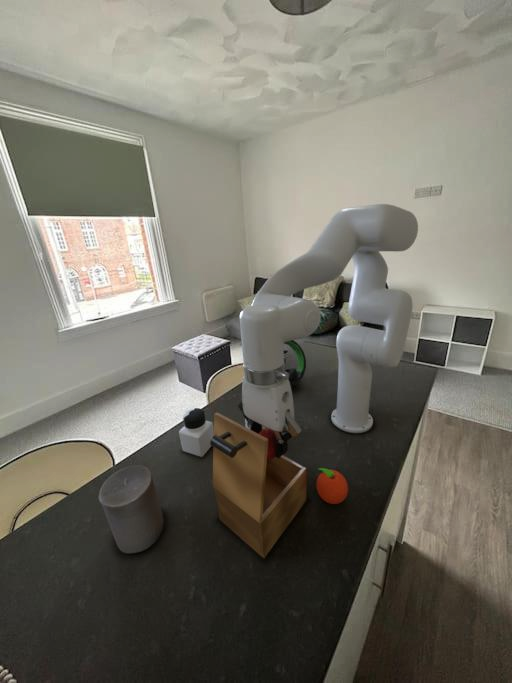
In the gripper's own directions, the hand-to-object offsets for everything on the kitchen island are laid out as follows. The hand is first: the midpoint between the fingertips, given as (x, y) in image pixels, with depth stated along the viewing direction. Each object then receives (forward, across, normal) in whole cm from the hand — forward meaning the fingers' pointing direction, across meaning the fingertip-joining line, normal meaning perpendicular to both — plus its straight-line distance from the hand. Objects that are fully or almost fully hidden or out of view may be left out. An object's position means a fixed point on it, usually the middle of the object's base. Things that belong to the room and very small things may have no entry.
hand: (269, 446), depth 59 cm
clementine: (+16, -10, -9) cm, 21 cm away
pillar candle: (+16, +18, +23) cm, 33 cm away
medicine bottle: (+16, +28, -1) cm, 32 cm away
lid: (-2, 0, +9) cm, 9 cm away
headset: (+16, +25, -41) cm, 51 cm away
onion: (+3, 0, 0) cm, 3 cm away
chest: (+16, 0, +3) cm, 16 cm away
